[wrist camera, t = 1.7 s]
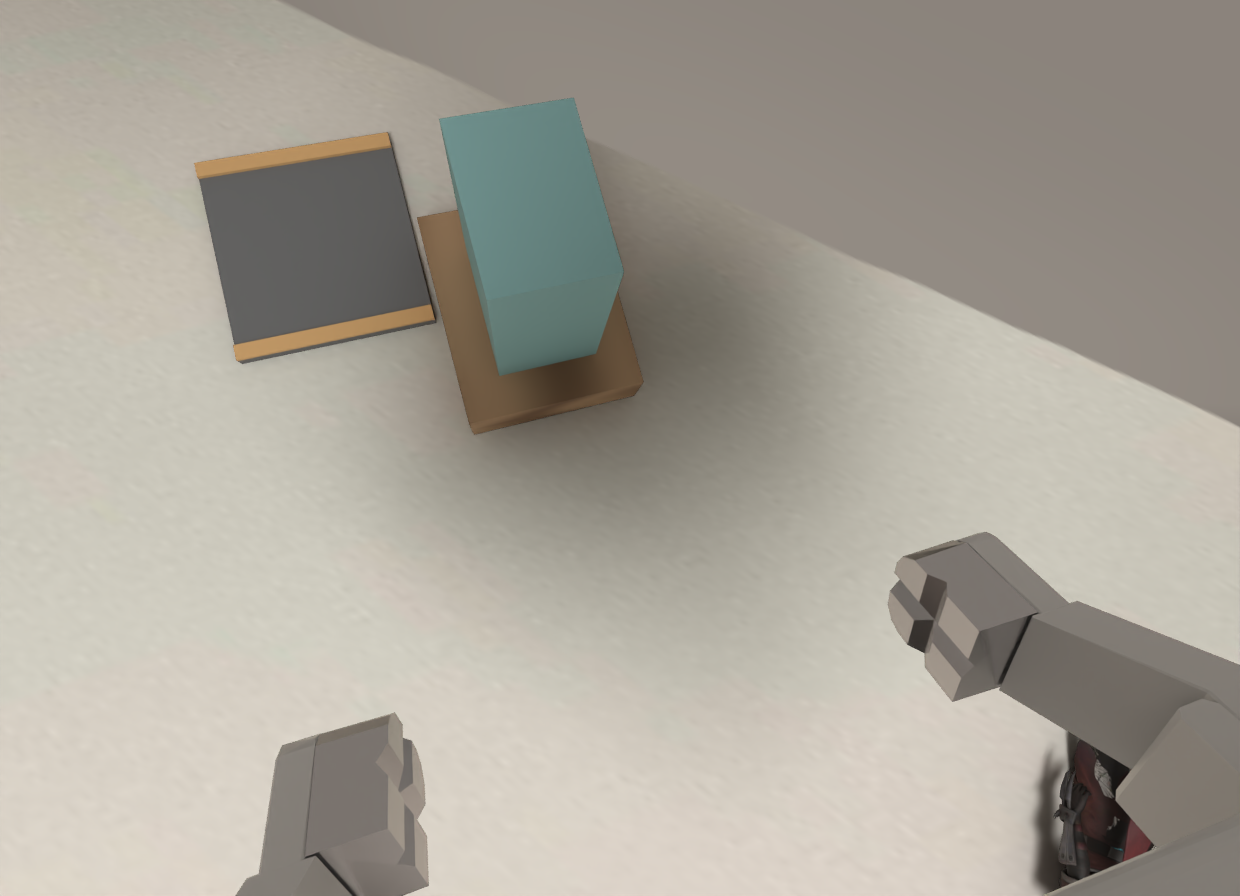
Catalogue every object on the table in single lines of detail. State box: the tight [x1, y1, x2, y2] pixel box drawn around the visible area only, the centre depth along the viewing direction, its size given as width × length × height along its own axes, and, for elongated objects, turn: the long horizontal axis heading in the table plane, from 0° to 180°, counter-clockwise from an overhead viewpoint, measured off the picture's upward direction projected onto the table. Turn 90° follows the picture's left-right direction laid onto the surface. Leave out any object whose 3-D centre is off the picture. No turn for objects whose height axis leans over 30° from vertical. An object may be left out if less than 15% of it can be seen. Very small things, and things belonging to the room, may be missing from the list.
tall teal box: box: [439, 98, 624, 376], centre depth 28 cm, size 5×7×10 cm
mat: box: [194, 132, 436, 364], centre depth 35 cm, size 10×11×1 cm
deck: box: [417, 210, 643, 435], centre depth 35 cm, size 9×11×3 cm
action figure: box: [1054, 739, 1154, 888], centre depth 34 cm, size 8×6×18 cm
